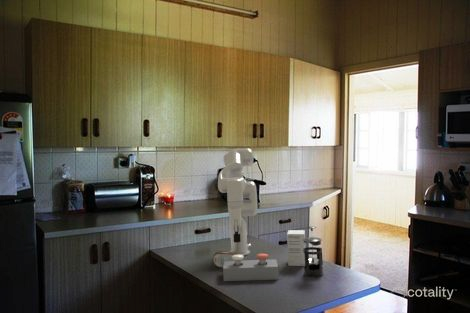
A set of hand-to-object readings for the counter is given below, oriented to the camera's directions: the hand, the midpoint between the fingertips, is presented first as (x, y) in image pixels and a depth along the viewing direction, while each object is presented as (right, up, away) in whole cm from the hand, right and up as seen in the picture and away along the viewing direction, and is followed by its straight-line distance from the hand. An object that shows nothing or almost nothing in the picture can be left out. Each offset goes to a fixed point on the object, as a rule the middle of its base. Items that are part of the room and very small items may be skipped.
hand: (237, 241), depth 189 cm
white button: (+1, -12, 0) cm, 12 cm away
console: (+7, -17, 0) cm, 18 cm away
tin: (-5, -17, +16) cm, 24 cm away
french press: (+37, -16, 0) cm, 41 cm away
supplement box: (+32, -15, +17) cm, 40 cm away
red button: (+12, -12, 0) cm, 17 cm away
